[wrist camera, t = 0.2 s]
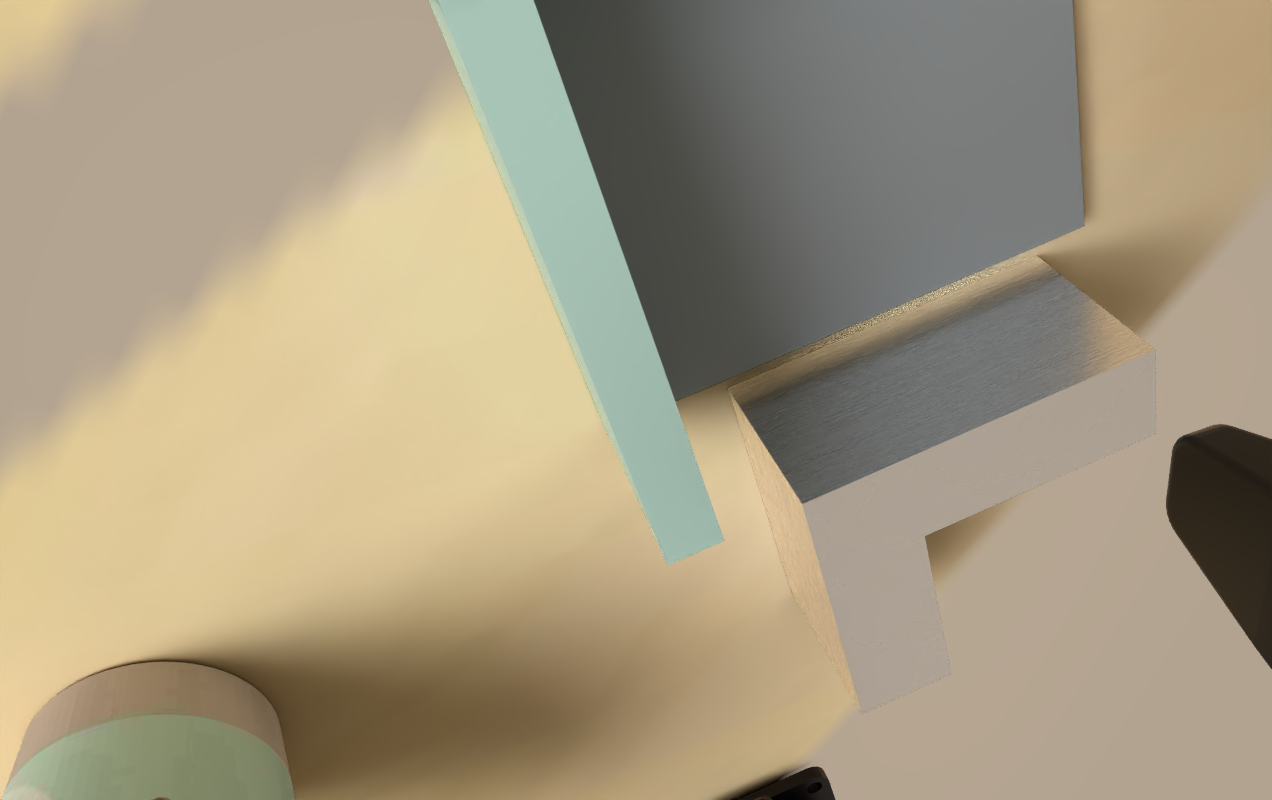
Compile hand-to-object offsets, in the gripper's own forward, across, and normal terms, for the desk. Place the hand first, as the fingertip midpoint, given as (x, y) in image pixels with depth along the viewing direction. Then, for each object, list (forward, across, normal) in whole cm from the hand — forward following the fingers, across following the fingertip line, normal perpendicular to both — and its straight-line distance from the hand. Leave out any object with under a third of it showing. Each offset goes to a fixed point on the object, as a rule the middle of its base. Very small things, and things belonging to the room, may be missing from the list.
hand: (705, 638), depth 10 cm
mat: (+14, -7, +2) cm, 16 cm away
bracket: (+14, -9, +12) cm, 20 cm away
